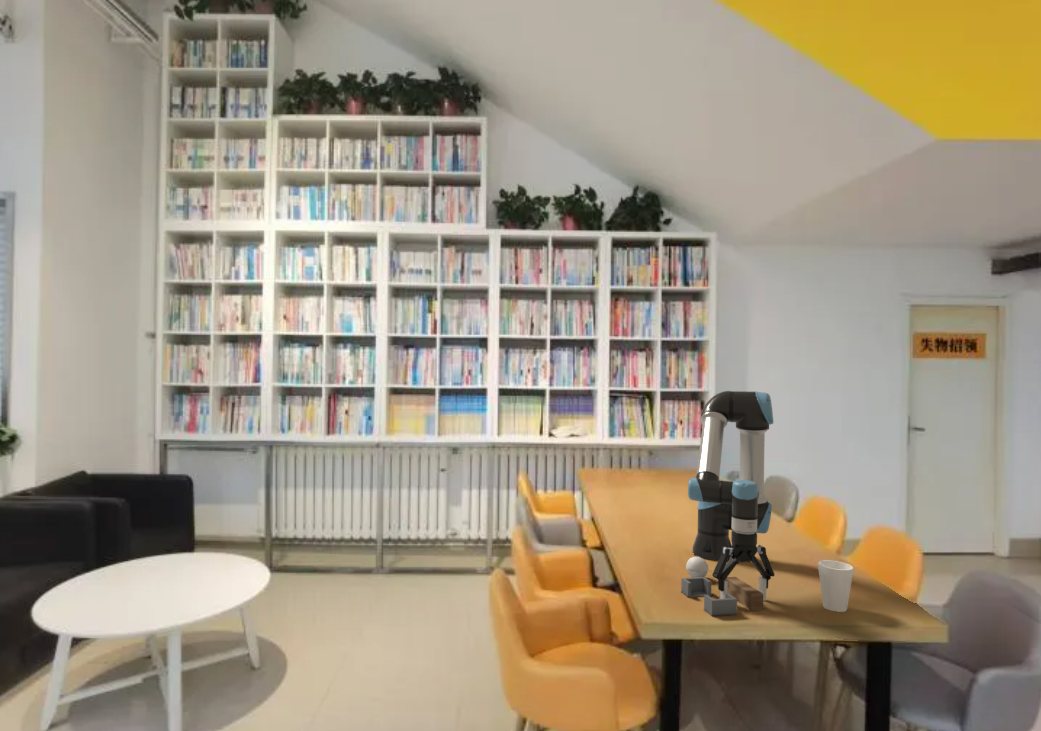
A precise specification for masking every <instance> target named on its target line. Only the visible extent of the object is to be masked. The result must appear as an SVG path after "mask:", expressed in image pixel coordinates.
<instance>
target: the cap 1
mask: <svg viewBox="0 0 1041 731" xmlns="http://www.w3.org/2000/svg"><path fill="white" fill-rule="evenodd" d="M680 583H681V585H680V586H681V587H680V588H681V589H680V590H681V591H680V593H681V594H683V595H684V596H686V597H687V598H701V597H703V598H704V595H708V596H710V597H711V596H712V581H711V580H710V579H708V578H706V576H705V577H681V582H680Z"/></svg>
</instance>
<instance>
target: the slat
mask: <svg viewBox="0 0 1041 731" xmlns="http://www.w3.org/2000/svg"><path fill="white" fill-rule="evenodd" d="M725 580H726V581H727V594H728V593H729V594H730V595H732V596H733V597H735V598H736V599H737V603H739V604H740V605H742V606H743V607H745V608H747V609H748V610H750V611H755V612H756V611H763V610H764V600H763V593H761V592H760V591H759V589H756V588H755V587H753V586H751V585H750V584H748V583H747V582H745V581H743V580H742V579H740V578H738V576H737V577H736V576H728V577H727V578H726V579H725Z"/></svg>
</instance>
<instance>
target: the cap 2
mask: <svg viewBox="0 0 1041 731" xmlns="http://www.w3.org/2000/svg"><path fill="white" fill-rule="evenodd" d="M703 598H704V599H703V600H704V601H703V610H704V611H705V612H706V613H707V614H708V615H710V616H711V617H718V616H719V617H721V616H733V615H735V616H736V615H737V616H738V601H737V599H736V598H735V597H733V596H732V595H730V594H729V593H728V594H726V598H724V599H720V598H713V597H711V596H708V595H704V596H703Z"/></svg>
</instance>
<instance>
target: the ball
mask: <svg viewBox="0 0 1041 731" xmlns="http://www.w3.org/2000/svg"><path fill="white" fill-rule="evenodd" d="M685 568H686V569H685V570H686V572H687V574H688V575H689V576H690V578H693V577H705V578H706V576H707V574H708V572H710V570H709V566H708V563H707V561H706V559H704V558H701V557H698V556H692V557H690V558H689V559H688V560H687V562H686V565H685ZM713 572H714V570H712V573H713Z"/></svg>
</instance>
